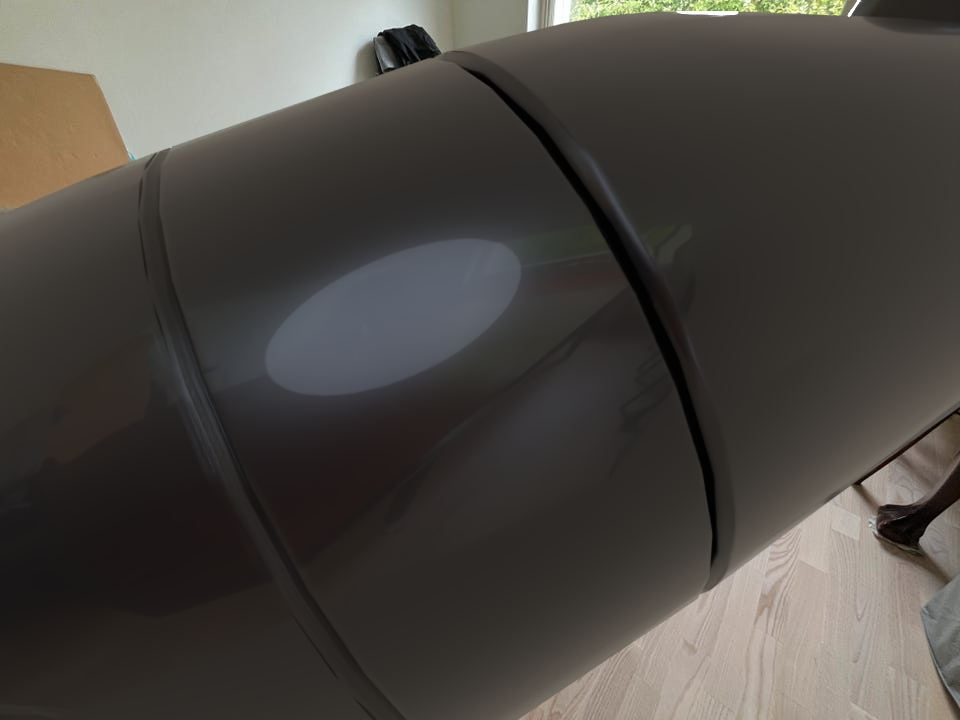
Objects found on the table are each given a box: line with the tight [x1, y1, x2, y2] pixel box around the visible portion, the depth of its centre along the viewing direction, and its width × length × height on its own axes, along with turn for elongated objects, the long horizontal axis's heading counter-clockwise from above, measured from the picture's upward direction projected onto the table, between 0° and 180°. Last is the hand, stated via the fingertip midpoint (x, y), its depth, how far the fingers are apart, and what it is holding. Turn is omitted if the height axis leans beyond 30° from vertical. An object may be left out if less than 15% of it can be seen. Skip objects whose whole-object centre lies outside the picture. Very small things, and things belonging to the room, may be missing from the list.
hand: (327, 436), depth 35 cm, fingers closed on ink box, 5 cm apart
